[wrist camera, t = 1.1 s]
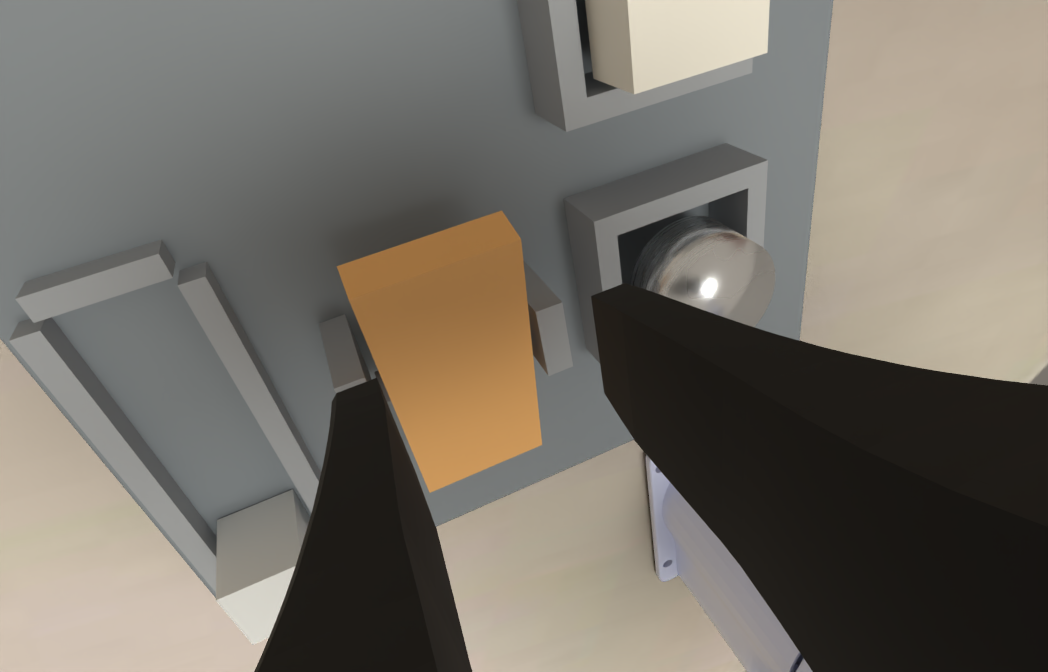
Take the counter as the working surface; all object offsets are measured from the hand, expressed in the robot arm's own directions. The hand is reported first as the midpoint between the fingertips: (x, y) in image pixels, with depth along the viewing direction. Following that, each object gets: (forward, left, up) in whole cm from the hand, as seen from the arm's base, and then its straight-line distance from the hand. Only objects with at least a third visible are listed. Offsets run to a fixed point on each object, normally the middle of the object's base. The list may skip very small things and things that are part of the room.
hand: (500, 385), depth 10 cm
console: (-2, -2, -9) cm, 10 cm away
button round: (-3, -7, -6) cm, 10 cm away
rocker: (-3, 0, -5) cm, 6 cm away
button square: (+4, -7, -6) cm, 10 cm away
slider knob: (-8, +6, -7) cm, 13 cm away
